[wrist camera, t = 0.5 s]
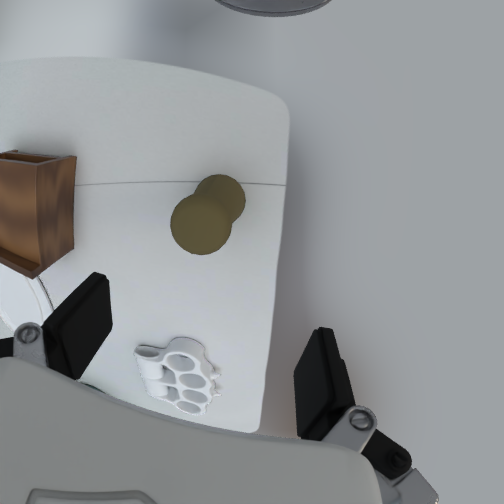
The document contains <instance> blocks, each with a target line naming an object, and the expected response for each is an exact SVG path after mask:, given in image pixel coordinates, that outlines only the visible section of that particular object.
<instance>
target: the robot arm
mask: <svg viewBox="0 0 504 504" xmlns="http://www.w3.org/2000/svg"><path fill="white" fill-rule="evenodd" d="M112 326H113V322H112V313H111V301H110V287H109V280H108V279H107V278H106V276H105V275H103V274H100V273H97V272H93V273H92V274H91V275H90V276H89V277H88V278H87V279H86V280H85V281H83V282H82V283H81V284H80V285H79V286H78V287H77V288H76V289H75V290H74V291H73V292H72V293H71V294H70V295H69V296H68V297H67V298H66V299H65V300H64V301H63V302H62V303H61V304H60V305H59V306H58V307H57V308H56V309H55V310H54V311H53V312H52V313H51V314H50V316H49V317H48V318H47V319H46V320H45V321H44V322H43V324H42V326H41V327H40V325H38V324H37V323H34V322H27V323H23V324H21V325H20V326H19V327H17V329H16V330H15V332H14V337H10V338H4V339H0V504H438V501H439V498H438V494H437V493H436V491H435V490H434V489H433V488H432V487H431V485H430V484H429V483H428V482H427V481H426V479H425V478H424V477H423V476H422V475H421V474H420V472H419V471H418V470H417V469H416V468H415V469H412V467H411V465H412V459H411V456H410V454H409V452H408V451H407V450H406V449H404V448H403V447H401V446H400V445H398V444H397V443H395V442H394V441H393V440H391V439H390V438H388V437H387V436H386V435H384V434H383V433H381V432H380V431H379V430H377V429H376V427H377V419H376V416H375V415H374V413H373V412H372V411H371V410H370V409H368V408H366V407H364V406H356V404H355V400H354V396H353V392H352V388H351V384H350V380H349V376H348V373H347V369H346V365H345V362H344V360H343V359H341V358H340V354H339V350H338V347H337V343H336V339H335V336H334V332H333V330H332V329H330V328H324V327H319V328H318V330H316V329H315V330H314V331H313V333H312V335H311V337H310V339H309V341H308V344H307V346H306V348H305V350H304V352H303V354H302V356H301V358H300V360H299V362H298V364H297V366H296V368H295V370H294V388H295V403H296V420H297V435H298V436H299V437H301V439H293V438H282V437H274V436H265V435H258V434H251V433H244V432H238V431H232V430H227V429H222V428H217V427H212V426H207V425H203V424H198V423H194V422H190V421H186V420H182V419H178V418H175V417H171V416H168V415H164V414H161V413H158V412H154V411H151V410H148V409H145V408H142V407H139V406H136V405H133V404H131V403H128V402H125V401H122V400H120V399H117V398H115V397H112V396H109V395H107V394H105V393H102V392H100V391H97V390H95V389H93V388H91V387H88V386H86V385H84V384H82V383H79V382H77V381H75V380H76V379H77V380H78V379H80V377H81V376H82V374H83V373H84V371H85V369H86V368H87V366H88V365H89V363H90V362H91V360H92V359H93V357H94V355H95V354H96V352H97V351H98V349H99V348H100V346H101V345H102V343H103V342H104V340H105V339H106V337H107V336H108V335H109V333H110V332H111V330H112Z"/></svg>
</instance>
